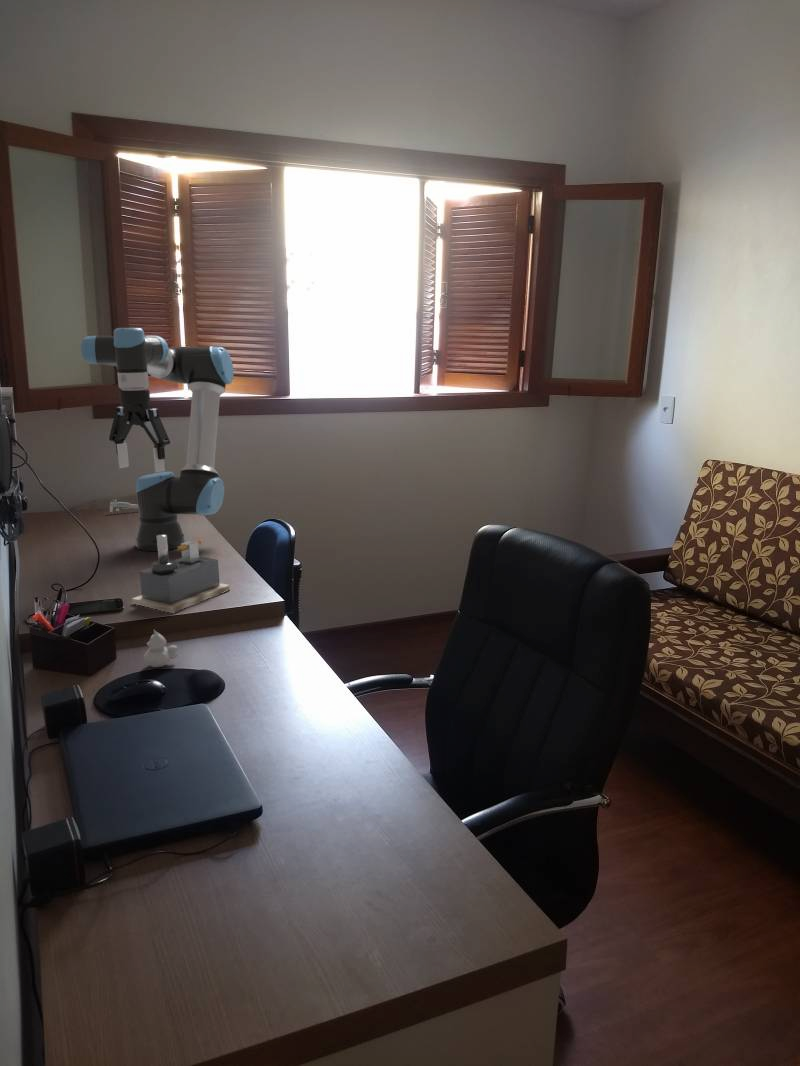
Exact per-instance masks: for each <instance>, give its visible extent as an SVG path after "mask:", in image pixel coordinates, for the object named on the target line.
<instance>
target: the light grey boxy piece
mask: <svg viewBox="0 0 800 1066" xmlns="http://www.w3.org/2000/svg"><path fill="white" fill-rule="evenodd" d="M201 545H202V541H201V540H200V539H197V540H194V541H192V540H188V541H185V542H184V543H181V546H178V548H176V549H177V551H178V552H181V558H182V564H184V565H189V566H190V565H193V564H196V563H199V557H200V553H199V546H201Z"/></svg>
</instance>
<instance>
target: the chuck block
mask: <svg viewBox="0 0 800 1066" xmlns="http://www.w3.org/2000/svg"><path fill="white" fill-rule="evenodd" d="M157 546H158V551H157V555H158V557H157V558H158V560H155V561H153V562H151V564H150V565H151V567H148V568H146V569H143V570H140V571H139V577H140V578H139V580H140V586H141V587H140V589H141V590H140V591H141V595H142V598H144V599H148V600H153V601H157V602H161V603H166V604H170V605H171V604H174V603H176V602H179V601H181V600H184V599H187V598H189V597H192V596H194V595H197V594H199V593H202V592H204V591H207V590H210V589H212V588H215V587H217V586H220V583H221V582H220V571H219V559H216V558H210V557H203V556H199V563H196V564H193V565H190V566H189V565H184V564H182V557H179V558H176V559H170V556H169V550H168V544H167V535H165V534H161V535H157Z"/></svg>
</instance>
